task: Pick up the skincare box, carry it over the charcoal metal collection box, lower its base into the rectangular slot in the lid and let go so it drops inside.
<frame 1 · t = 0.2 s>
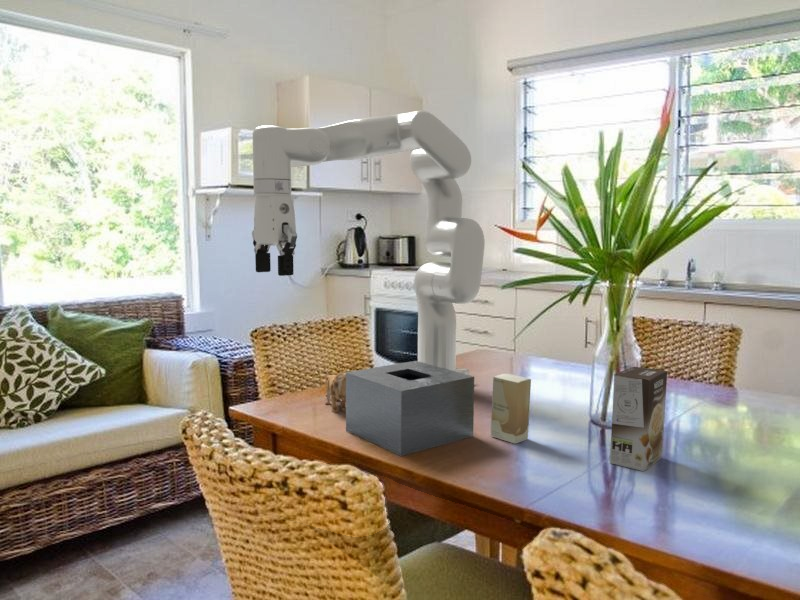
hand: (274, 273, 138), 31 cm above the table, tool pointing down, fingers open, 9 cm apart
skincare box: (509, 439, 131), on the table
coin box: (408, 433, 134), on the table
coffee box: (636, 461, 119), on the table
tan spotted animal figure: (338, 408, 152), on the table
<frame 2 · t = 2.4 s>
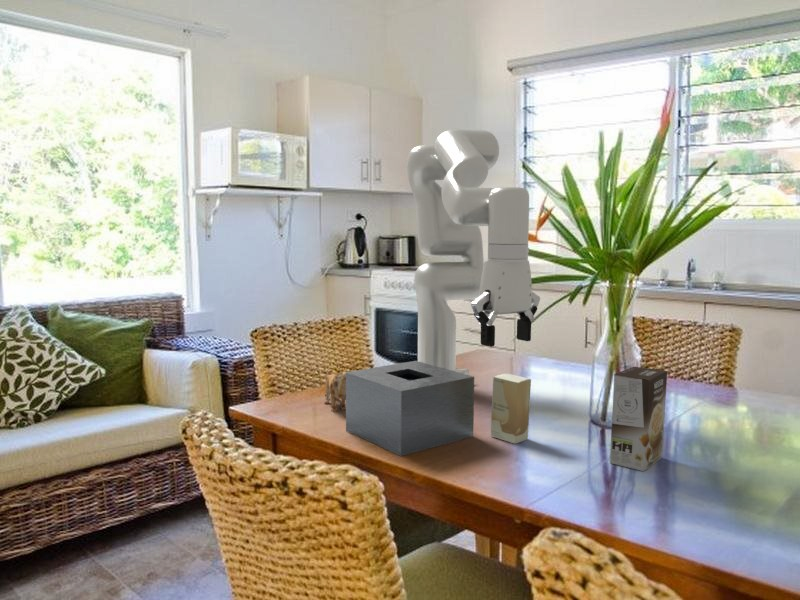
hand: (506, 342, 129), 19 cm above the table, tool pointing down, fingers open, 9 cm apart
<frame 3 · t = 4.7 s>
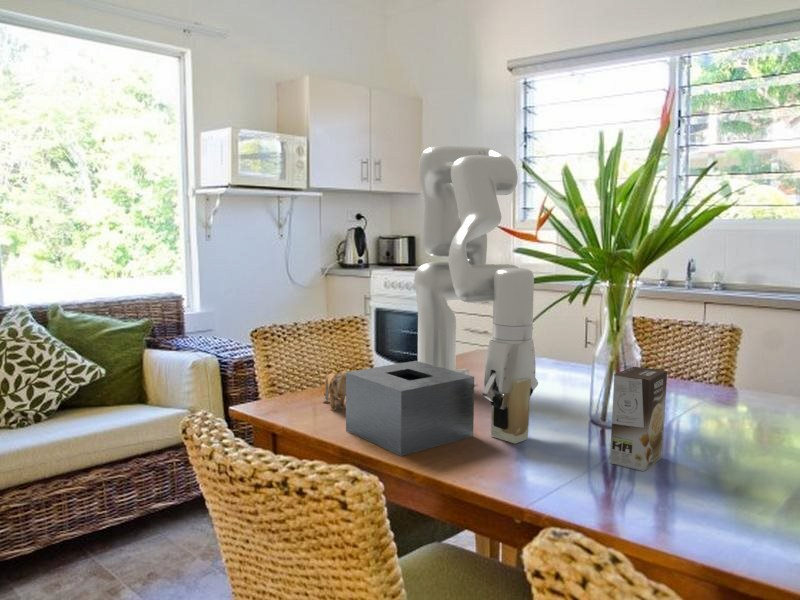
hand: (510, 424, 131), 3 cm above the table, tool pointing down, fingers closed on skincare box, 4 cm apart
skincare box: (509, 439, 131), on the table, touching gripper
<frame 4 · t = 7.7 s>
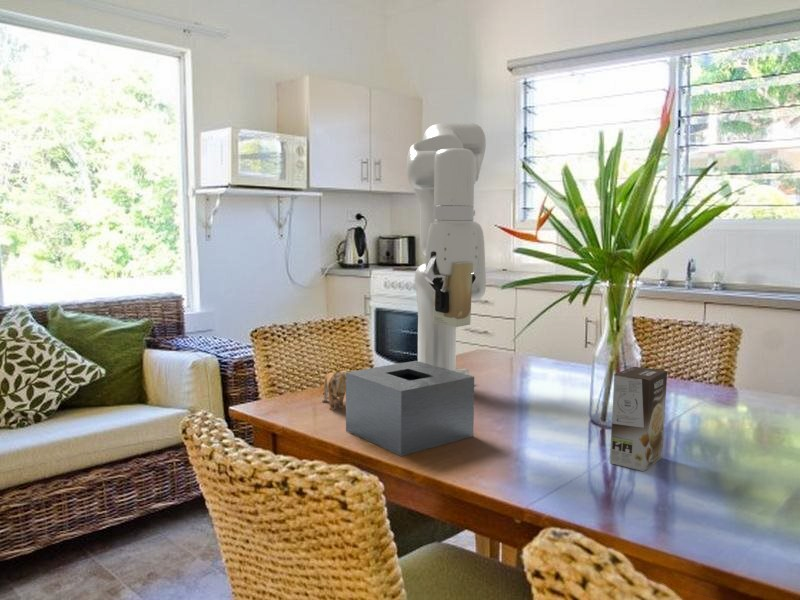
hand: (452, 309, 130), 25 cm above the table, tool pointing down, fingers closed on skincare box, 4 cm apart
skincare box: (452, 325, 130), point 22 cm above the table, touching gripper
when the fingers open (13 cm above the table, at t = 10.9 s): skincare box drops 10 cm, resting in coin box.
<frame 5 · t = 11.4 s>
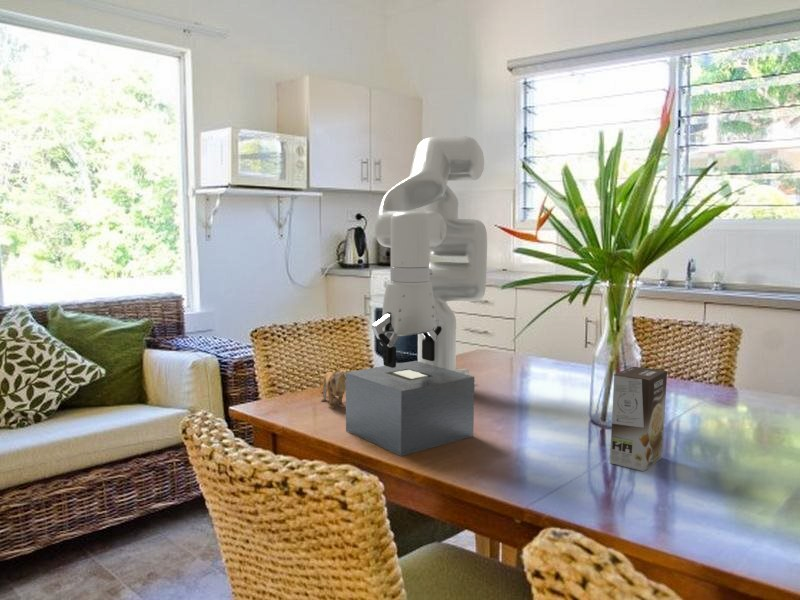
hand: (409, 363, 132), 14 cm above the table, tool pointing down, fingers open, 9 cm apart
skincare box: (409, 434, 134), resting in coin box
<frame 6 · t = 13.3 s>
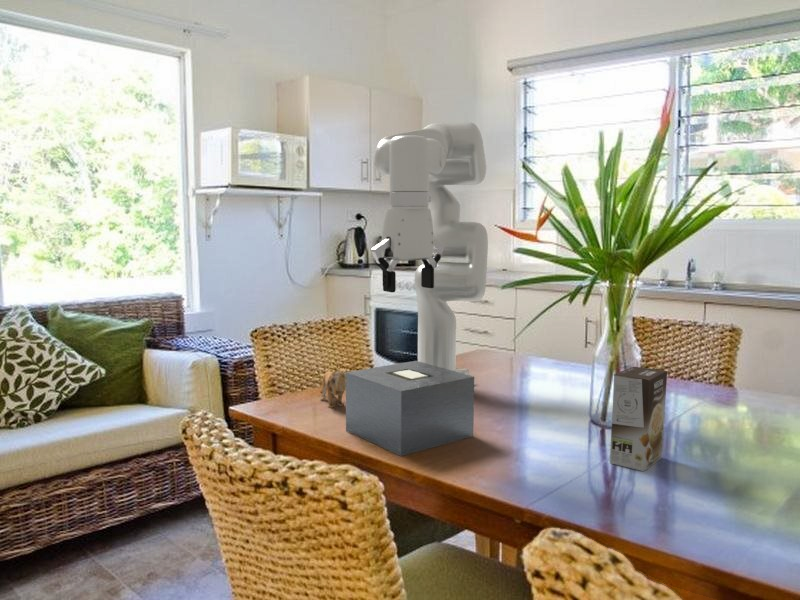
hand: (408, 289, 132), 29 cm above the table, tool pointing down, fingers open, 9 cm apart
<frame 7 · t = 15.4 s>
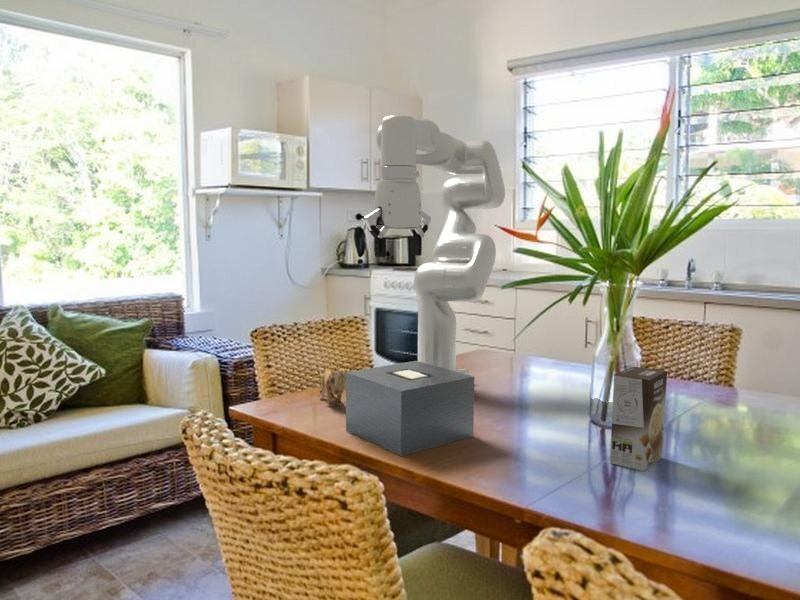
hand: (398, 256, 145), 34 cm above the table, tool pointing down, fingers open, 9 cm apart
at the end: skincare box inside the target area on the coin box (0.2 cm from its centre), point 0.0 cm above the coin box's base; the gripper is holding nothing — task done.
